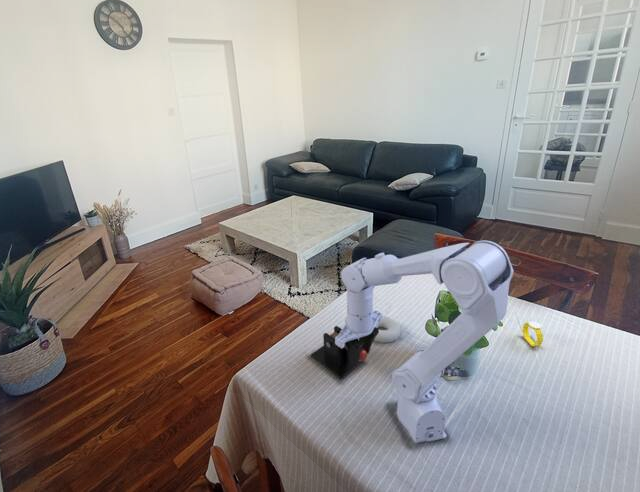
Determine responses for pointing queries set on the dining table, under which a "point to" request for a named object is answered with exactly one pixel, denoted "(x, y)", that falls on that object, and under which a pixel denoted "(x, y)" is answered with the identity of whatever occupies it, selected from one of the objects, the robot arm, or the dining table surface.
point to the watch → (537, 329)
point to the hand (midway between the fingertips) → (359, 355)
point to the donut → (389, 334)
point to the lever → (362, 352)
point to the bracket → (335, 357)
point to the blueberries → (451, 373)
